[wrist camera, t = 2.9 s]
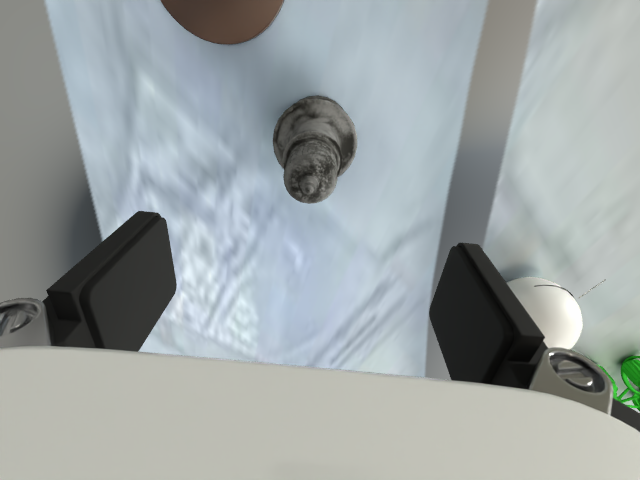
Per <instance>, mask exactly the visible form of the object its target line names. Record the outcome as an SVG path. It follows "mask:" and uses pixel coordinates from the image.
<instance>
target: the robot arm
mask: <svg viewBox="0 0 640 480" xmlns="http://www.w3.org/2000/svg"><path fill="white" fill-rule="evenodd" d="M46 291H47V293H48V295H49V296H48V297H47V298H46V299H45V300H43V301H42V302H41V301H39V300H38V299H33V298H18V299H12V300H8V301H4V302H1V303H0V480H640V413H638V412H636V411H635V410H633V409H631V408H630V407H628V406H626V405H625V404H623V403H621V402H619V401H618V400H616V399H614V398H613V384H612V382H611V380H610V379H609V377H608V375H607V374H606V373H605V372H604V371H603V370H602V369H601V368H600V367H599V366H598V365H596V364H595V363H594V362H593V361H591V360H590V359H588V358H586V357H585V356H583V355H581V354H579V353H577V352H575V351H572V350H569V349H565V348H561V347H552V348H548V347H547V346H546V344H545V343H544V341H543V340H544V338H545V336H544V335H543V333H542V332H541V330H540V329H539V328H538V326H537V325H536V323H535V322H534V321H533V319H532V318H531V316H530V315H529V314H528V312H527V311H526V310H525V308H524V307H523V305H522V304H521V303H520V301H519V300H518V298H517V297H516V296H515V294H514V293H513V291H512V290H511V289H510V287H509V286H508V285H507V283H506V282H505V280H504V279H503V278H502V276H501V275H500V273H499V272H498V271H497V269H496V268H495V267H494V265H493V264H492V262H491V261H490V260H489V258H488V257H487V255H486V254H485V253H484V251H483V250H482V248H481V247H480V246H479V245H478V244H469V243H459V244H458V245H457V246H456V247H455V246H453V247H452V248H451V250H450V252H449V255H448V258H447V261H446V263H445V267H444V269H443V272H442V275H441V278H440V281H439V283H438V286H437V289H436V292H435V295H434V298H433V301H432V303H431V306H430V311H429V315H430V320H431V323H432V326H433V328H434V331H435V334H436V337H437V340H438V342H439V346H440V348H441V351H442V354H443V357H444V359H445V363H446V365H447V368H448V371H449V374H450V377H451V380H444V379H435V378H424V377H414V376H404V375H393V374H383V373H372V372H362V371H352V370H341V369H330V368H319V367H308V366H297V365H286V364H275V363H264V362H253V361H242V360H230V359H219V358H207V357H195V356H183V355H172V354H160V353H148V352H138V351H139V350H140V348H141V346H142V345H143V343H144V342H145V340H146V338H147V337H148V335H149V334H150V332H151V331H152V329H153V327H154V326H155V324H156V323H157V321H158V319H159V318H160V316H161V315H162V313H163V312H164V310H165V308H166V307H167V305H168V304H169V302H170V300H171V299H172V297H173V296H174V294H175V291H176V278H175V272H174V266H173V259H172V253H171V247H170V241H169V235H168V229H167V223H166V220H165V218H161V216H160V214H159V213H154V212H144V211H138V212H137V213H135V214H134V215H133V216H132V217H131V218H130V219H128V220H127V221H126V222H125V223H124V224H123V225H122V226H120V227H119V228H118V229H117V230H116V231H115V232H113V233H112V234H111V235H110V236H109V237H108V238H106V239H105V240H104V241H103V242H102V243H101V244H100V245H98V246H97V247H96V248H95V249H94V250H93V251H91V252H90V253H89V254H88V255H87V256H86V257H84V259H82V260H81V261H80V262H79V263H78V264H76V265H75V266H74V267H73V268H72V269H71V270H69V271H68V272H67V273H66V274H65V275H64V276H63V277H61V278H60V279H59V280H58V281H57V282H56V283H54V284H53V285H52V286H51V287H50V288H49V289H47V290H46Z"/></svg>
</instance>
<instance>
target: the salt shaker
mask: <svg viewBox="0 0 640 480" xmlns="http://www.w3.org/2000/svg"><path fill="white" fill-rule="evenodd" d="M273 146H274V153H275V155H276V157H277V160H278V162H279V164H280V165H281V166H282V168H283V169H284V184H285V187H286V189H287V191H288V192H289V194H290V195H291V196H292V197H293V198H295V199H296V200H298V201H300V202H303V203H309V204H310V203H317V202H320V201H323V200H324V199H326V198H327V197H328V196H329V195H330V194H331V193H332V192H333V190H334V188H335V186H336V183H337V177H339V176H340V175H342V174H343V173H344V172H345V171H346V170H347V169H348V168H349V166H350V165H351V163H352V161H353V159H354V157H355V153H356V149H357V134H356V131H355V127H354V124H353V122H352V121H351V119H350V118H349V116H348V114H347V113H346V112H345V111H344V110H343V109H342V107H341V106H339V105H338V104H337V103H336V102H335V101H333V100H331V99H329V98H327V97H322V96H309V97H306V98H304V99H301V100H299V101H298V102H297V103H295V104H293V105H292V106H291V107H289V108H288V109H287V110H285V112H284V113H283V114H282V116H281V117H280V118H279V120H278V122H277V124H276V127H275V129H274V135H273Z"/></svg>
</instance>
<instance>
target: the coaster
mask: <svg viewBox="0 0 640 480" xmlns="http://www.w3.org/2000/svg"><path fill="white" fill-rule="evenodd" d="M160 1H161V2H162V4H163V5H164V7H165V8H166V9H167V11H168V12H169V13H170V14H171V16H172V17H173V18H174V19H175V20H176V21H177V22H178V23H179V24H180V25H181V26H183V27H184V28H185V29H186V30H187V31H189V32H191V33H192V34H194V35H195V36H197V37H199V38H201V39H203V40H206V41H209V42H212V43H217V44H238V43H242V42H246V41H249V40H251V39H253V38H255V37H257V36H258V35H260V34H261V33H262V32H264V31H265V30H266V29H267V28H268V27H269V26H270V25H271V23H272V22H273V21H274V20H275V18H276V16H277V15H278V13H279V12H280V9H281V7H282V5H283V3H284V0H160Z"/></svg>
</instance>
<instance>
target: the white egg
mask: <svg viewBox="0 0 640 480" xmlns="http://www.w3.org/2000/svg"><path fill="white" fill-rule="evenodd" d="M605 280H606V279H605ZM605 280H603V281H602V282H604V281H605ZM602 282H601V283H602ZM601 283H599V284H601ZM599 284H598V285H599ZM507 285H508V286H509V287H510V289H511V290H512V291H513V293H514V294H515V296H516V297H517V298H518V300H519V301H520V303H521V304H522V305H523V307H524V308H525V310H526V311H527V312H528V314H529V315H530V316H531V318H532V319H533V321H534V322H535V323H536V325H537V326H538V328H539V329H540V330H541V332H542V333H543V335H544V336H545V338H544V340H543V341H544V343H545V344H546V346H547V347H548V348H552V347H561V348H565V349H570V348H572V347H573V346H574V344H575V343H576V342H577V340H578V338H579V336H580V334H581V331H582V327H583V324H582V315H581V311H580V307H579V306H578V304H577V303H576V301H575V299H574V297H573V295H572V294H571V293H570V292H569V291H567V290H566V289H564V288H562V287H561V286H560V285H558V284H556V283H554V282H552V281H549V280H546V279H542V278H538V277H523V278H518V279H515V280H512V281H509V282H507ZM598 285H596V286H598ZM596 286H595V287H596ZM595 287H593V288H595ZM593 288H592V289H593ZM592 289H590V290H592ZM590 290H589V291H590ZM589 291H588V292H589ZM588 292H586V293H588ZM586 293H585V294H586ZM585 294H583V295H585ZM583 295H582V296H583ZM582 296H580V297H582ZM580 297H579V298H580Z"/></svg>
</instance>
